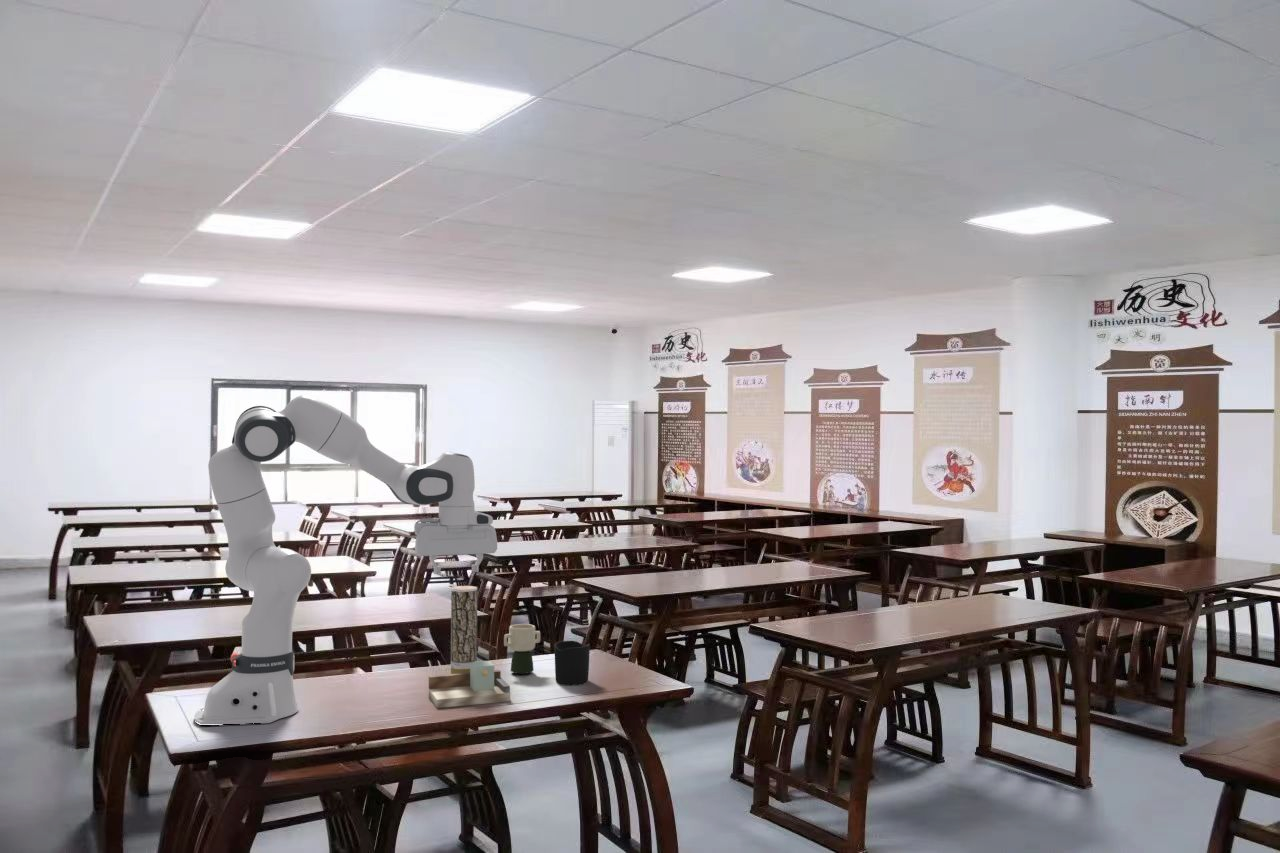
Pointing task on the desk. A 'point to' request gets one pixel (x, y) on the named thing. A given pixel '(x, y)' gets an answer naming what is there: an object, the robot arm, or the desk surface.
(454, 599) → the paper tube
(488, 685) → the mint green box
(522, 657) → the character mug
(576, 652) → the pen holder
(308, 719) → the desk surface
